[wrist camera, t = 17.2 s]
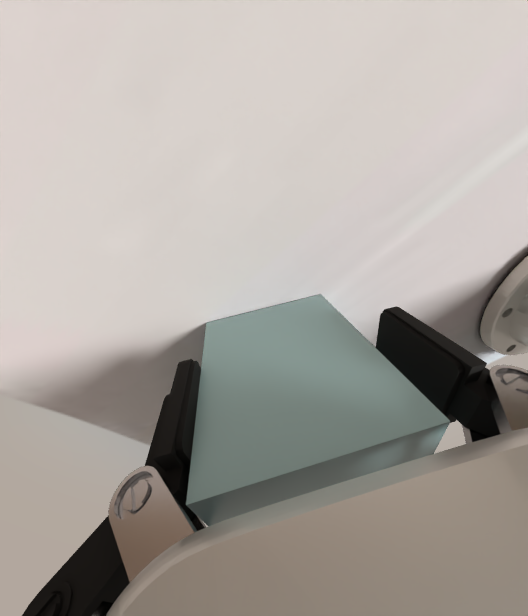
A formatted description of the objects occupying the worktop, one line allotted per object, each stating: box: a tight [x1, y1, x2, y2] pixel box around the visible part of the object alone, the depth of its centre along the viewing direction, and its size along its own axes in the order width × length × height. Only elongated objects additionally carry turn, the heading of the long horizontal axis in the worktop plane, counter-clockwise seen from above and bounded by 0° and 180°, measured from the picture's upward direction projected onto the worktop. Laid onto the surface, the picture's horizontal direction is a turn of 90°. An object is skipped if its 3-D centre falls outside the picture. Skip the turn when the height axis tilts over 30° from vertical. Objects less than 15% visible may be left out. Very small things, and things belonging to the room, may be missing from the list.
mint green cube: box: [186, 294, 450, 526], centre depth 11 cm, size 8×8×9 cm
